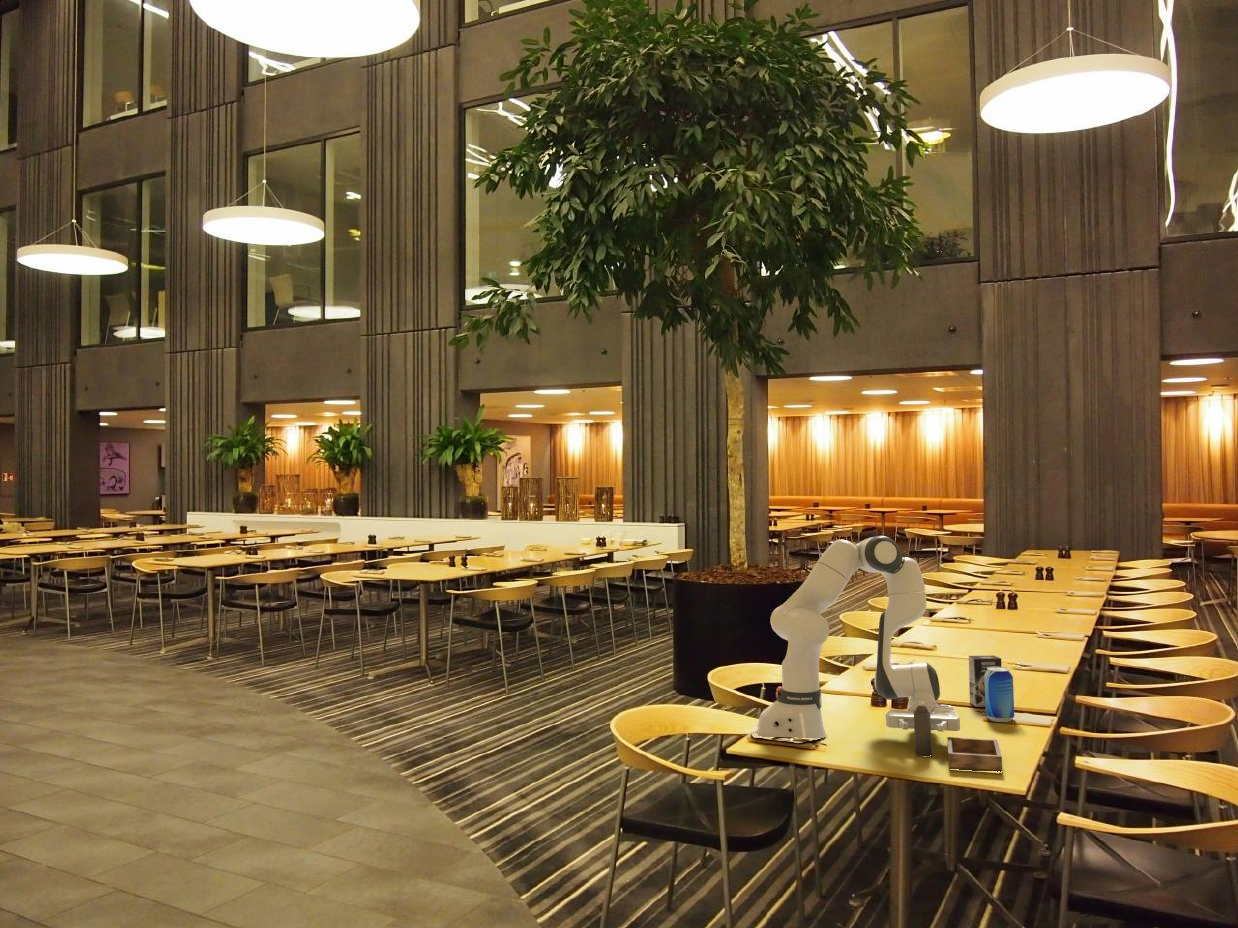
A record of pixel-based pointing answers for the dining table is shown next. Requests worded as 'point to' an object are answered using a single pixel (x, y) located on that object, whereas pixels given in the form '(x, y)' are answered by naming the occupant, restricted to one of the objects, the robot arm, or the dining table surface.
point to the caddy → (974, 754)
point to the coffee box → (980, 677)
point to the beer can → (999, 694)
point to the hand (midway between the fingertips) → (922, 727)
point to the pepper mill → (922, 730)
